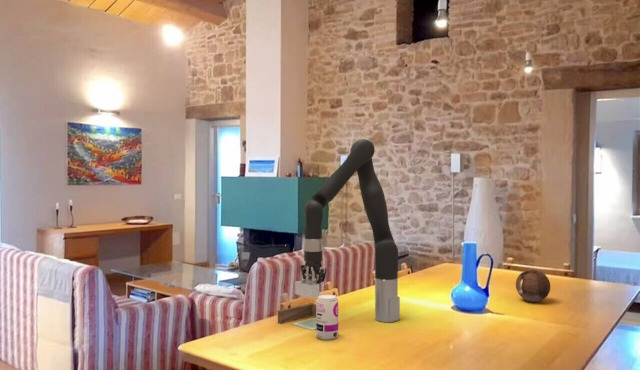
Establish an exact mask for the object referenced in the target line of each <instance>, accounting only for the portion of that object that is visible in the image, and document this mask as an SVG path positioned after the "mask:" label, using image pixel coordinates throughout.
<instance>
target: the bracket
mask: <svg viewBox="0 0 640 370" xmlns="http://www.w3.org/2000/svg"><path fill="white" fill-rule="evenodd" d="M317 280H318V278H317ZM320 293H321V285H320V286H319V284H317V283H315V281H314V278H313V277H312V279H307V280H305V279H302V280H297V281H294V295H297V296H302V297H304V298H309V299H315V298H316V299H317V298H318V296H319V295H321V294H320Z"/></svg>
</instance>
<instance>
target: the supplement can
mask: <svg viewBox="0 0 640 370" xmlns="http://www.w3.org/2000/svg"><path fill="white" fill-rule="evenodd" d="M315 302H316V303H315V304H316V317H315V318H316V330H315V331H316V337H317V338H318V339H320V340H324V341H329V340H330V341H331V340H334V339H337V337H338V336H339V299H338V297H337V295H334V294H320V295H319V296H318V297H316V301H315Z"/></svg>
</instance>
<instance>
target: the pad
mask: <svg viewBox="0 0 640 370" xmlns="http://www.w3.org/2000/svg"><path fill="white" fill-rule="evenodd" d="M291 325H292V326H296V327H300V328H303V329H306V330H309V331H316V330H315V329H316V317H312V318H308V319H304V320H300V321H296V322H292V323H291Z"/></svg>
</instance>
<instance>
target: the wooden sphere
mask: <svg viewBox="0 0 640 370" xmlns="http://www.w3.org/2000/svg"><path fill="white" fill-rule="evenodd" d="M515 287H516V289H515V290H516V292H517V293H518V295H519V296H520V297H521V298H522V299H524V301H527V302H531V303H538V302H542V301H544V300H545V299H546V298H547V297H548V295H549V294H550V292H551V281H550V279H549V277H548V276H547V275H546V274H545V273H544V272H543V271H541V270H538V269H534V268H533V269H527V270H526V269H525V270H524V271H521V273H519V274H518V276H517V278H516V281H515Z"/></svg>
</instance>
